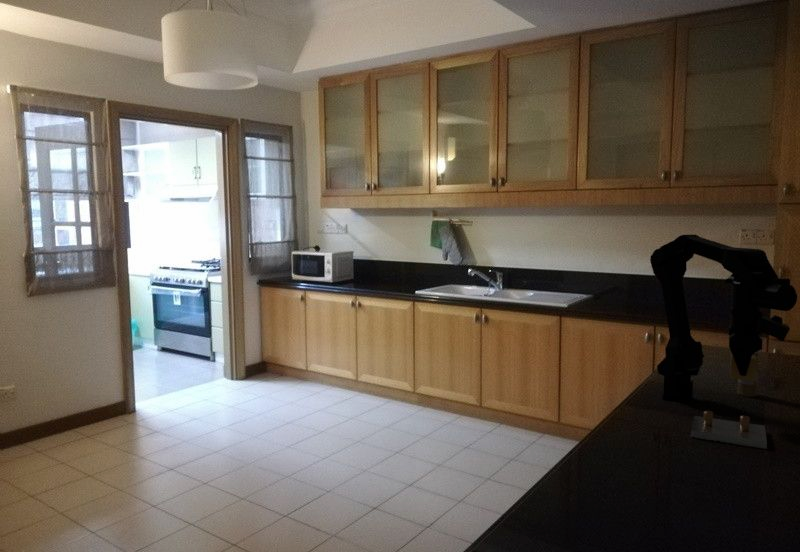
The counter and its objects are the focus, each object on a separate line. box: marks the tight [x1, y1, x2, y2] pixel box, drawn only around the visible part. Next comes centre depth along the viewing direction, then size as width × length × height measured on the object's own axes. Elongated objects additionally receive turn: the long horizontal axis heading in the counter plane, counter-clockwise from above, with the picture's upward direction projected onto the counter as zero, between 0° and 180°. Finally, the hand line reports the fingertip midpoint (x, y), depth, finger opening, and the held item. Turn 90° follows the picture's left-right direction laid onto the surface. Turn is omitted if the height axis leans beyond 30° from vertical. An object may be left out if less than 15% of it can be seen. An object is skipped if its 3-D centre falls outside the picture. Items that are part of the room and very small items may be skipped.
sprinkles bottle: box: [736, 350, 760, 398], centre depth 161 cm, size 5×5×13 cm
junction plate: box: [690, 410, 768, 450], centre depth 132 cm, size 14×11×4 cm
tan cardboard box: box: [729, 352, 758, 381], centre depth 139 cm, size 5×5×5 cm
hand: (742, 372), depth 139 cm, fingers closed on tan cardboard box, 5 cm apart
